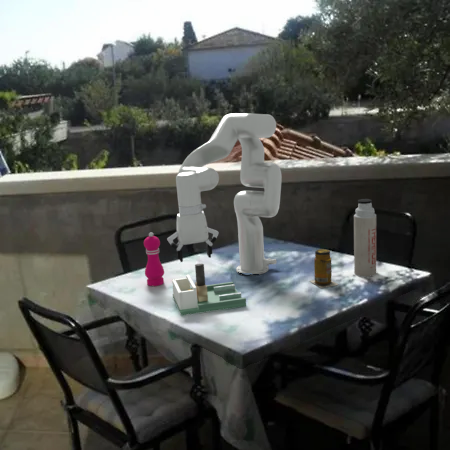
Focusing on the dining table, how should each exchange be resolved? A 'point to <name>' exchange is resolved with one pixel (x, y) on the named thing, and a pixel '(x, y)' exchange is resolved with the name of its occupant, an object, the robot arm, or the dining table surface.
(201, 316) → the dining table surface
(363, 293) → the dining table surface
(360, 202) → the thermos bottle
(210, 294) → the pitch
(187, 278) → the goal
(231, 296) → the kicker track
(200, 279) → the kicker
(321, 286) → the condiment
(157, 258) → the pepper mill
